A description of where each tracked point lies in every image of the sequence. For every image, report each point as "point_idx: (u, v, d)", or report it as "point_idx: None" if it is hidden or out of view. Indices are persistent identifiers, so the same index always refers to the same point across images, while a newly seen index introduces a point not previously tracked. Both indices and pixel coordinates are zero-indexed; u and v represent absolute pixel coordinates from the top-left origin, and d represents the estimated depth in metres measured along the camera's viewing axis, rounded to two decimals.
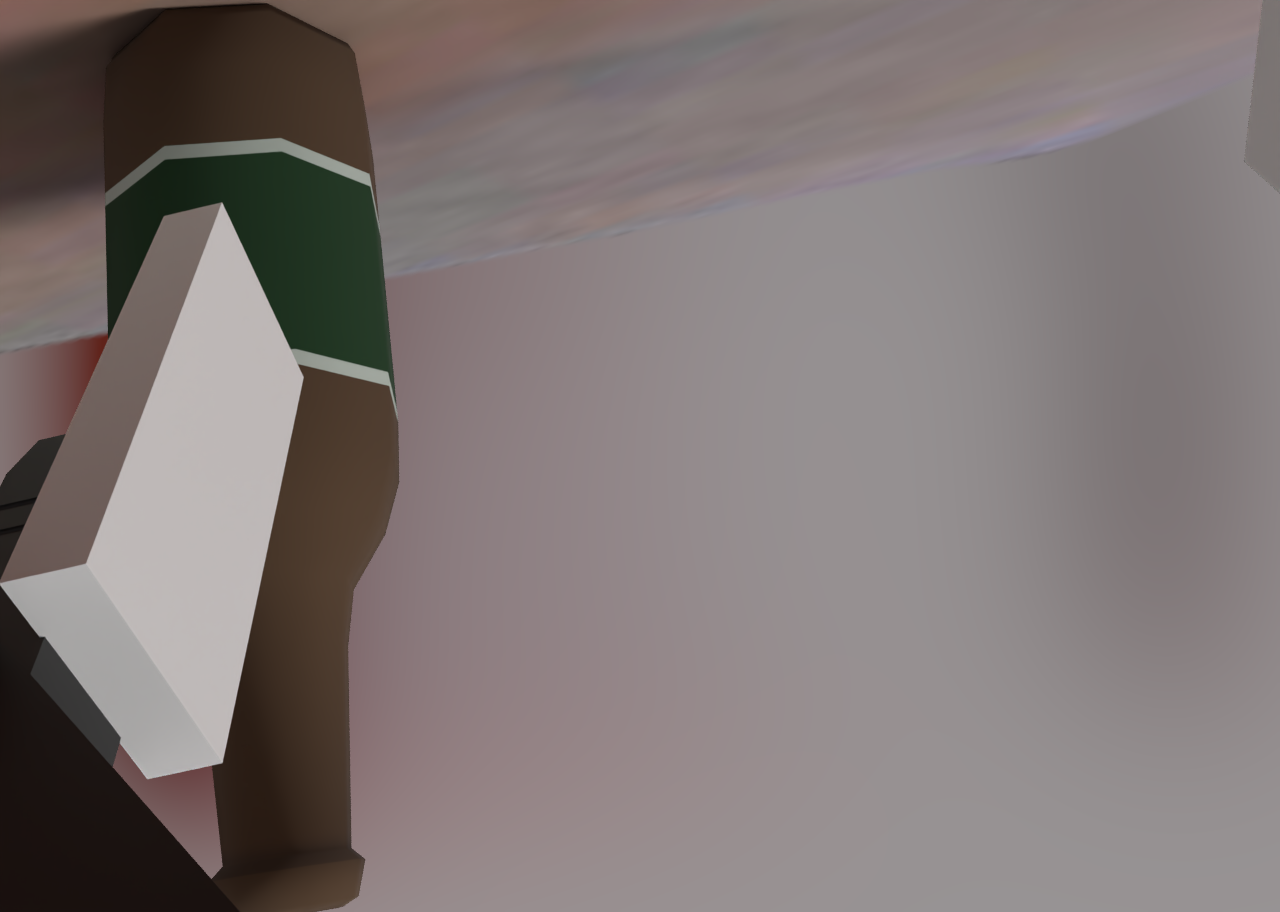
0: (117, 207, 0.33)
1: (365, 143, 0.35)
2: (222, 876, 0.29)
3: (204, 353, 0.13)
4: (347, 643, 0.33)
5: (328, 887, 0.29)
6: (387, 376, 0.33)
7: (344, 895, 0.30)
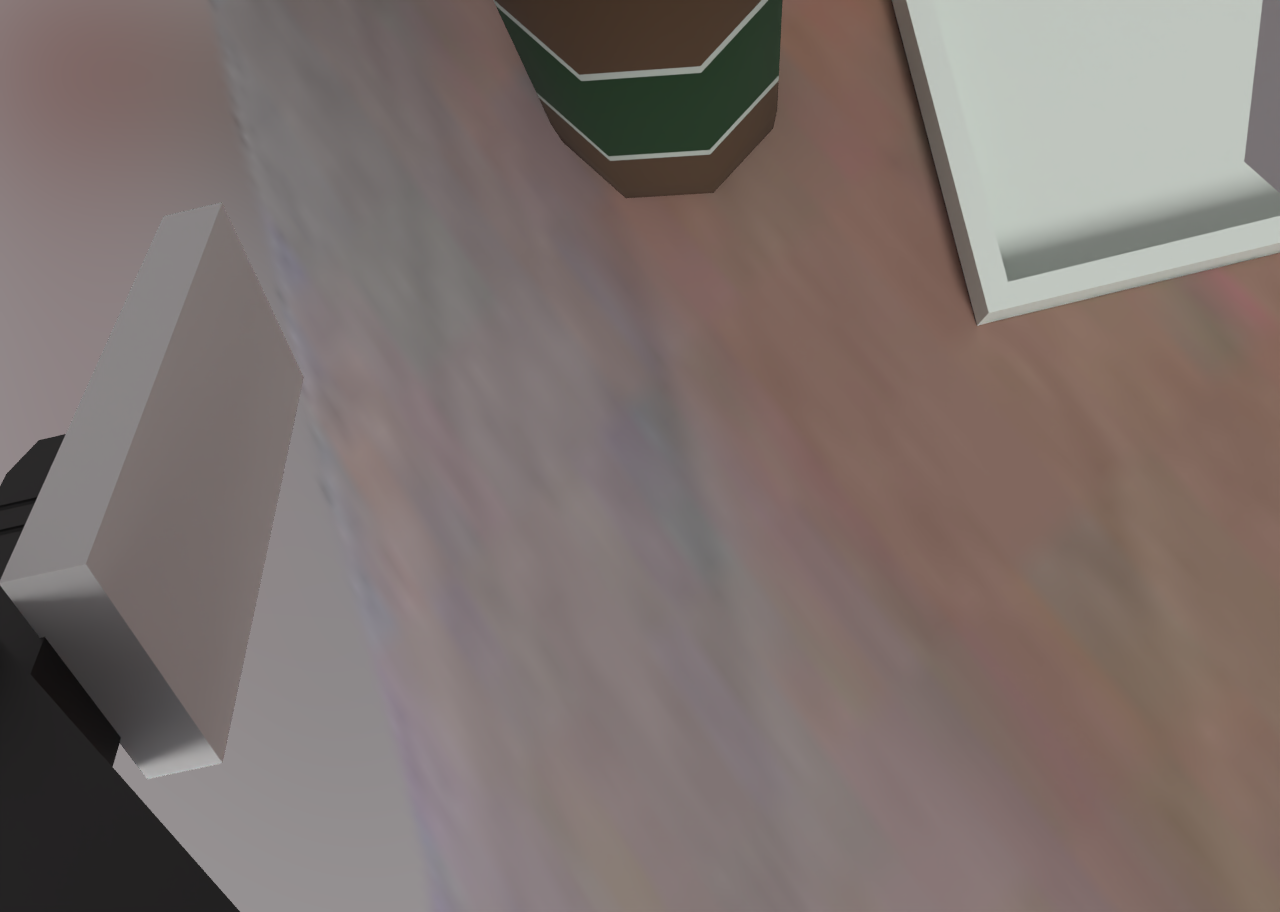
0: None
1: (711, 164, 0.37)
2: None
3: (204, 353, 0.13)
4: None
5: None
6: (700, 70, 0.30)
7: None
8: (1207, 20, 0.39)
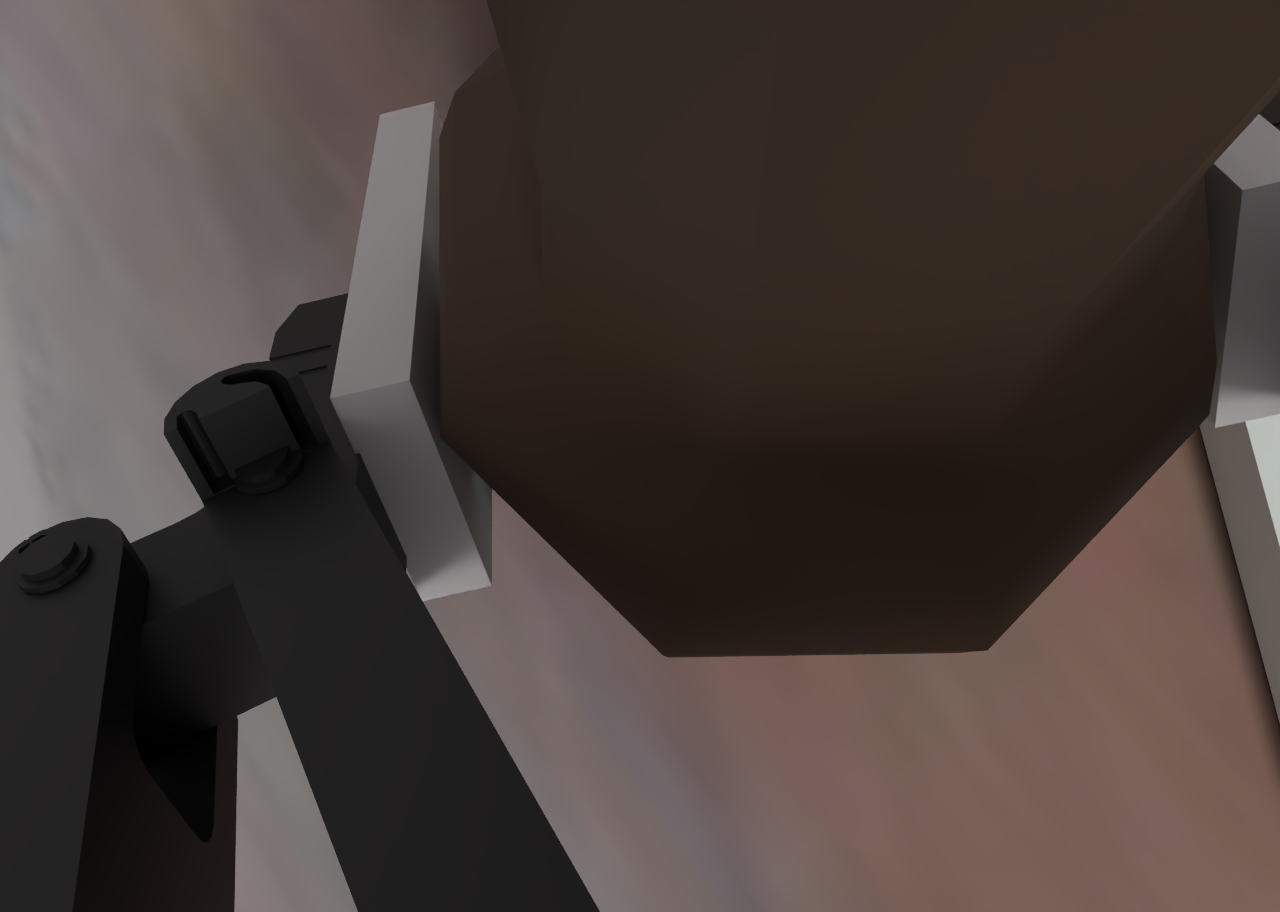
0: None
1: None
2: None
3: None
4: (769, 382, 0.07)
5: None
6: None
7: None
8: None
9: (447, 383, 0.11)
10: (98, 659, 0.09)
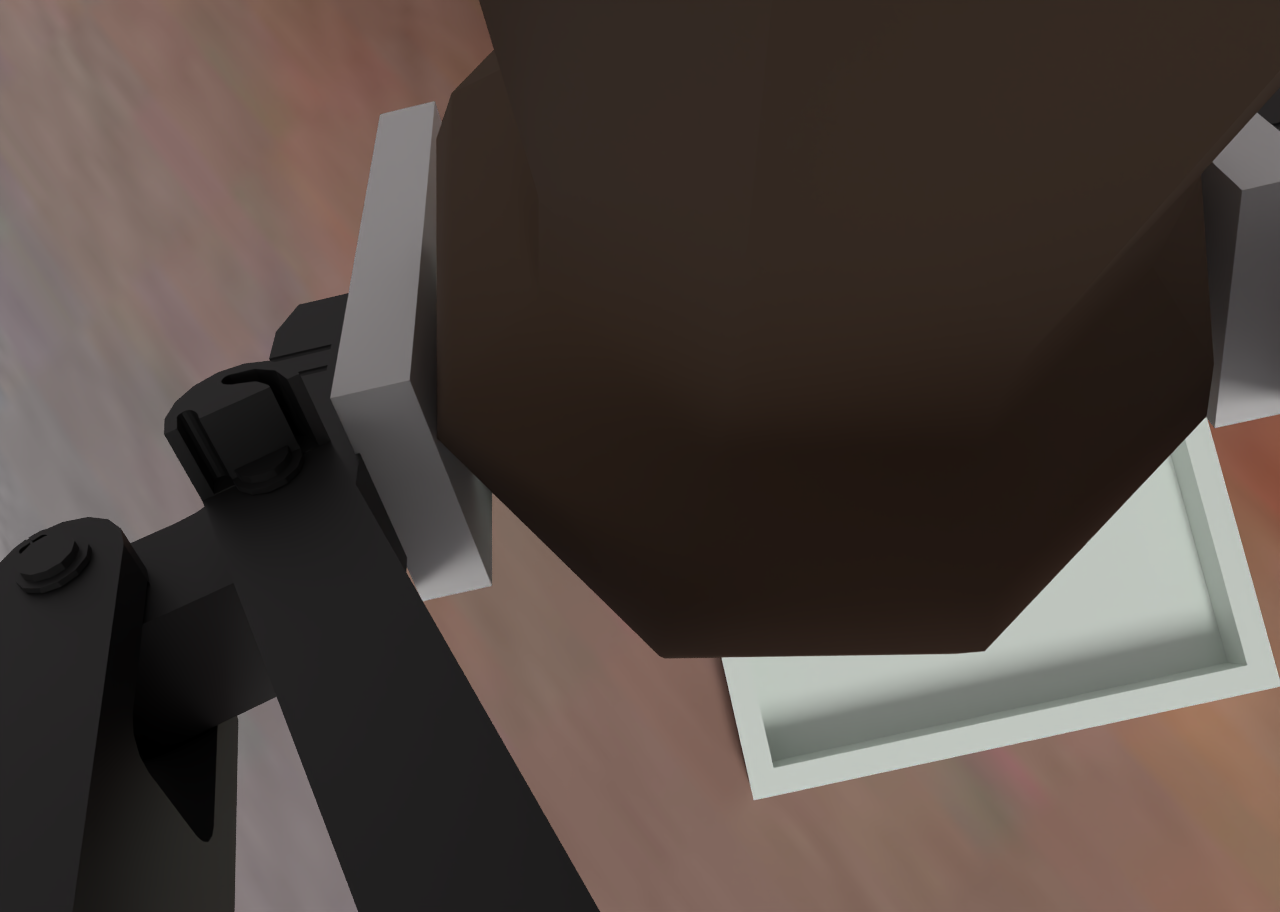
0: None
1: None
2: None
3: None
4: (764, 384, 0.07)
5: None
6: None
7: None
8: None
9: (444, 384, 0.11)
10: (99, 659, 0.09)
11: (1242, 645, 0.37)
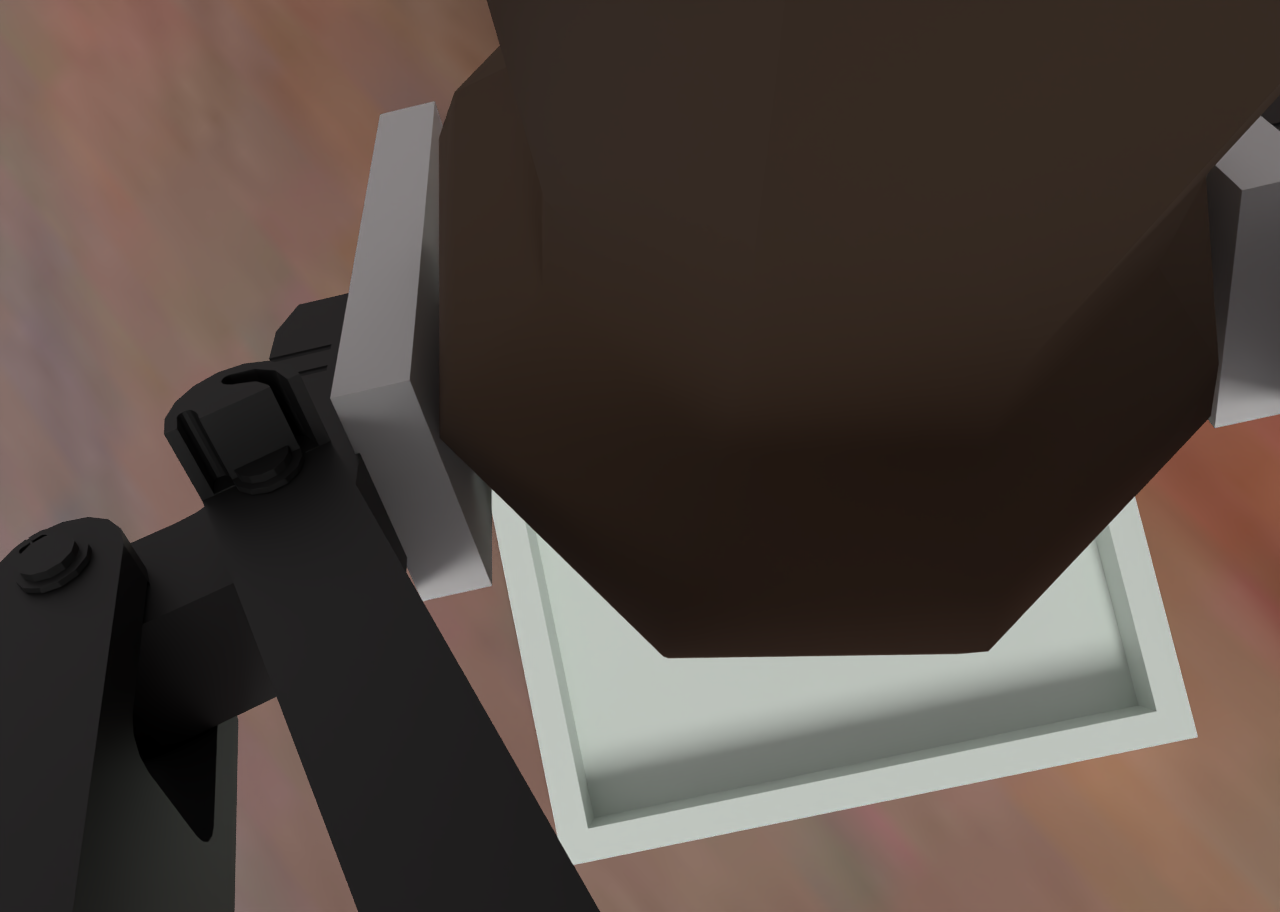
0: None
1: None
2: None
3: None
4: (769, 383, 0.07)
5: None
6: None
7: None
8: None
9: (447, 383, 0.11)
10: (99, 659, 0.09)
11: (1151, 687, 0.30)
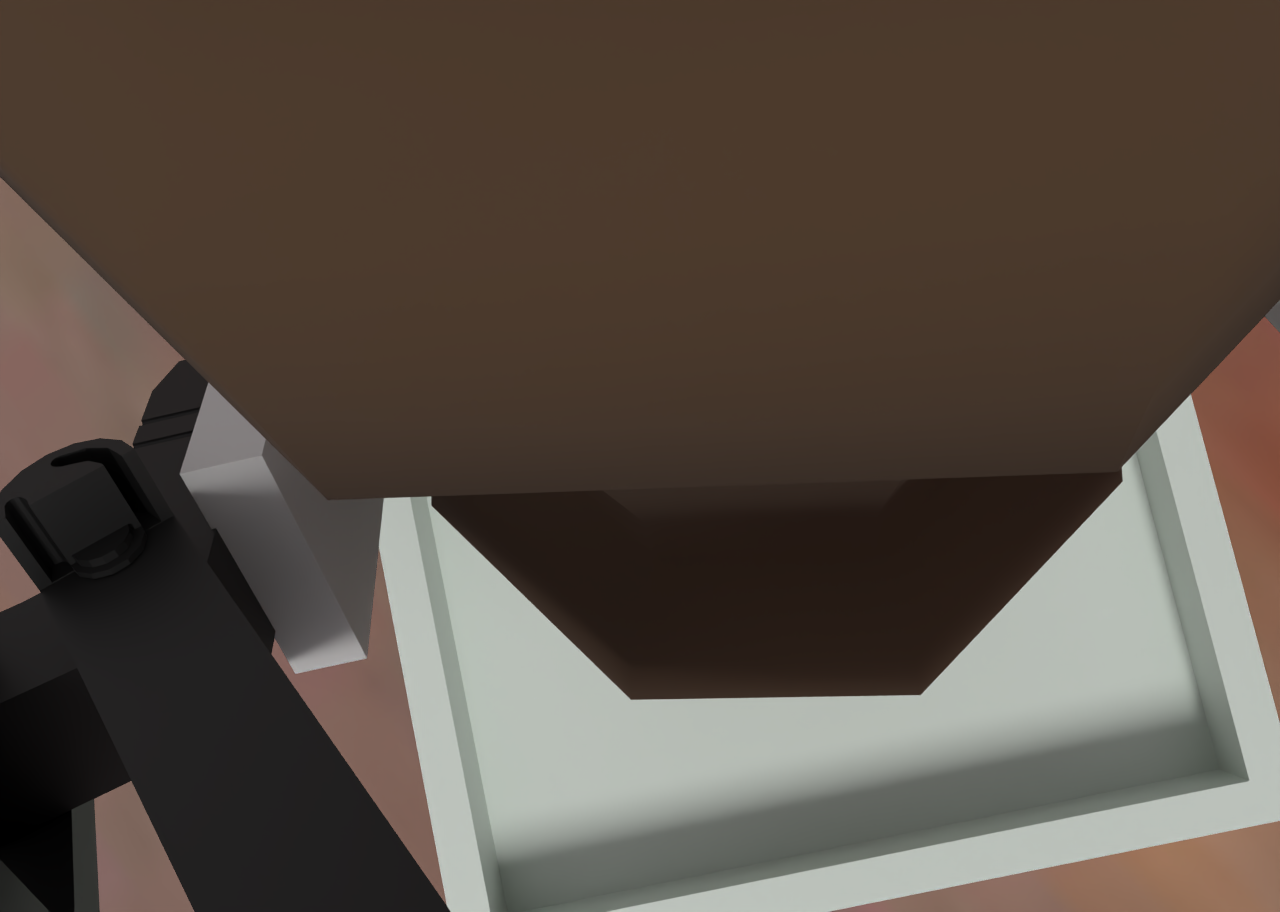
0: None
1: None
2: None
3: None
4: (671, 523, 0.08)
5: None
6: None
7: None
8: None
9: None
10: None
11: (1242, 748, 0.23)
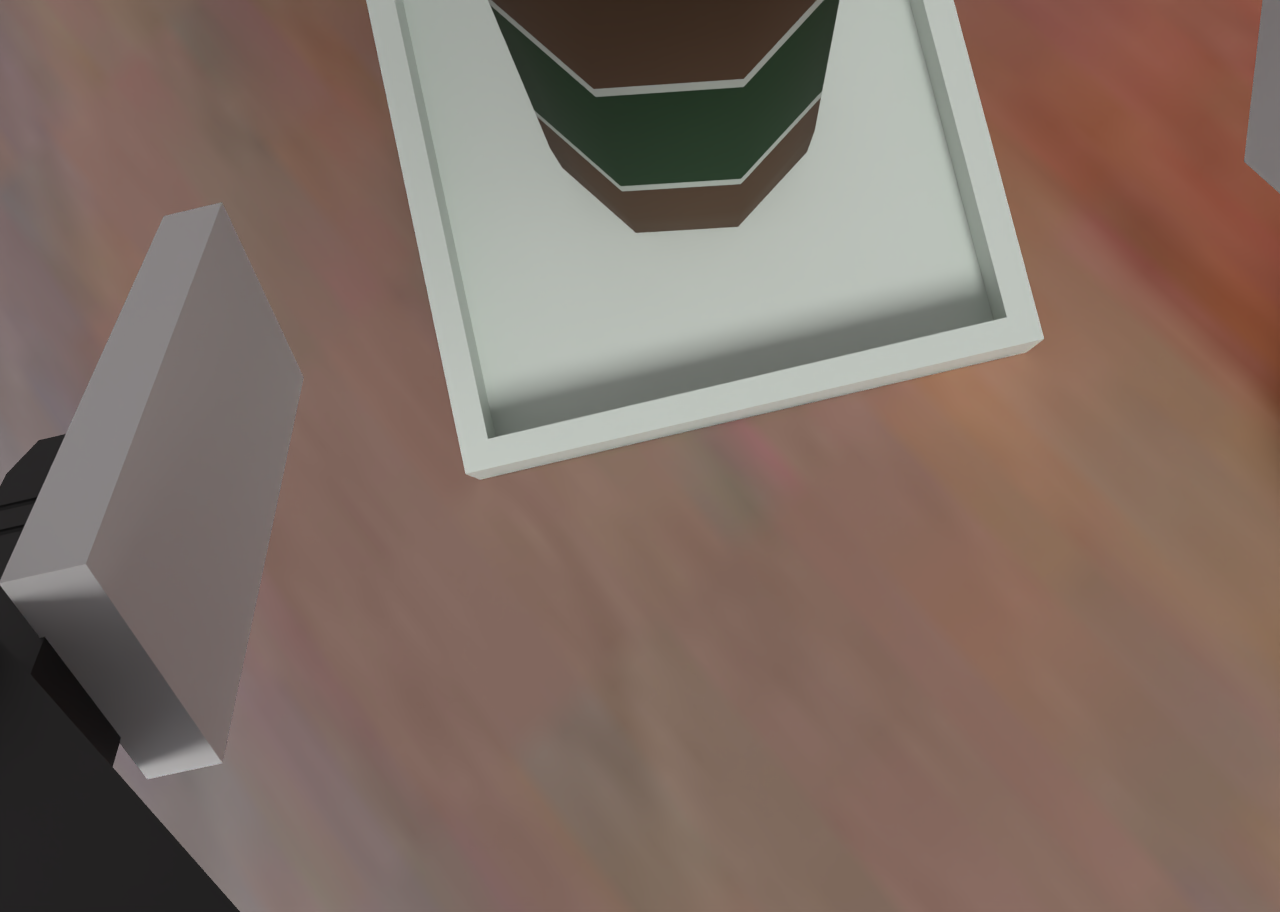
0: None
1: (740, 195, 0.32)
2: None
3: (204, 353, 0.13)
4: None
5: None
6: (742, 83, 0.24)
7: None
8: None
9: None
10: None
11: (1002, 296, 0.33)
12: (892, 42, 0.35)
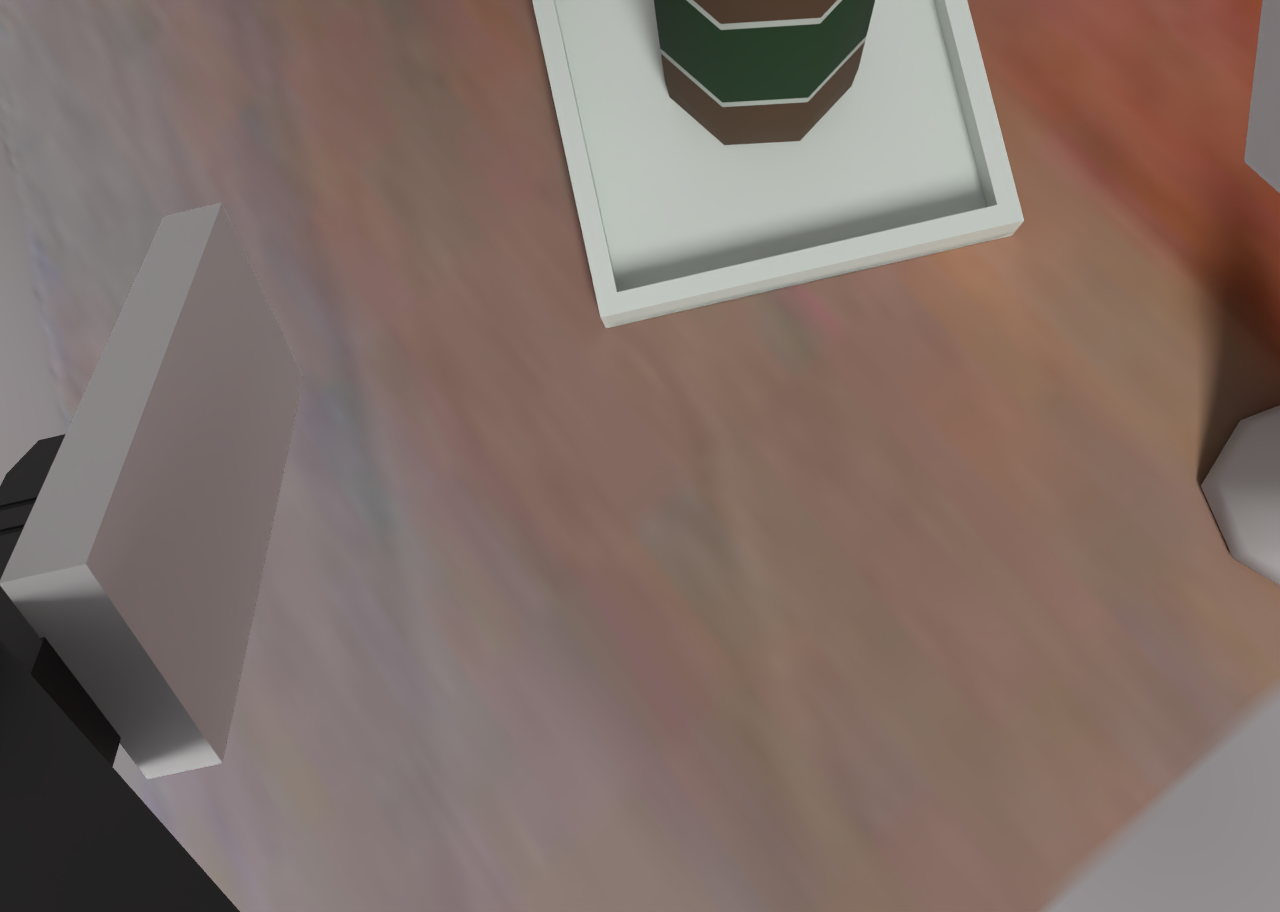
0: None
1: (806, 112, 0.44)
2: None
3: (204, 353, 0.13)
4: None
5: None
6: (819, 21, 0.37)
7: None
8: None
9: None
10: None
11: (994, 189, 0.45)
12: (914, 6, 0.48)
